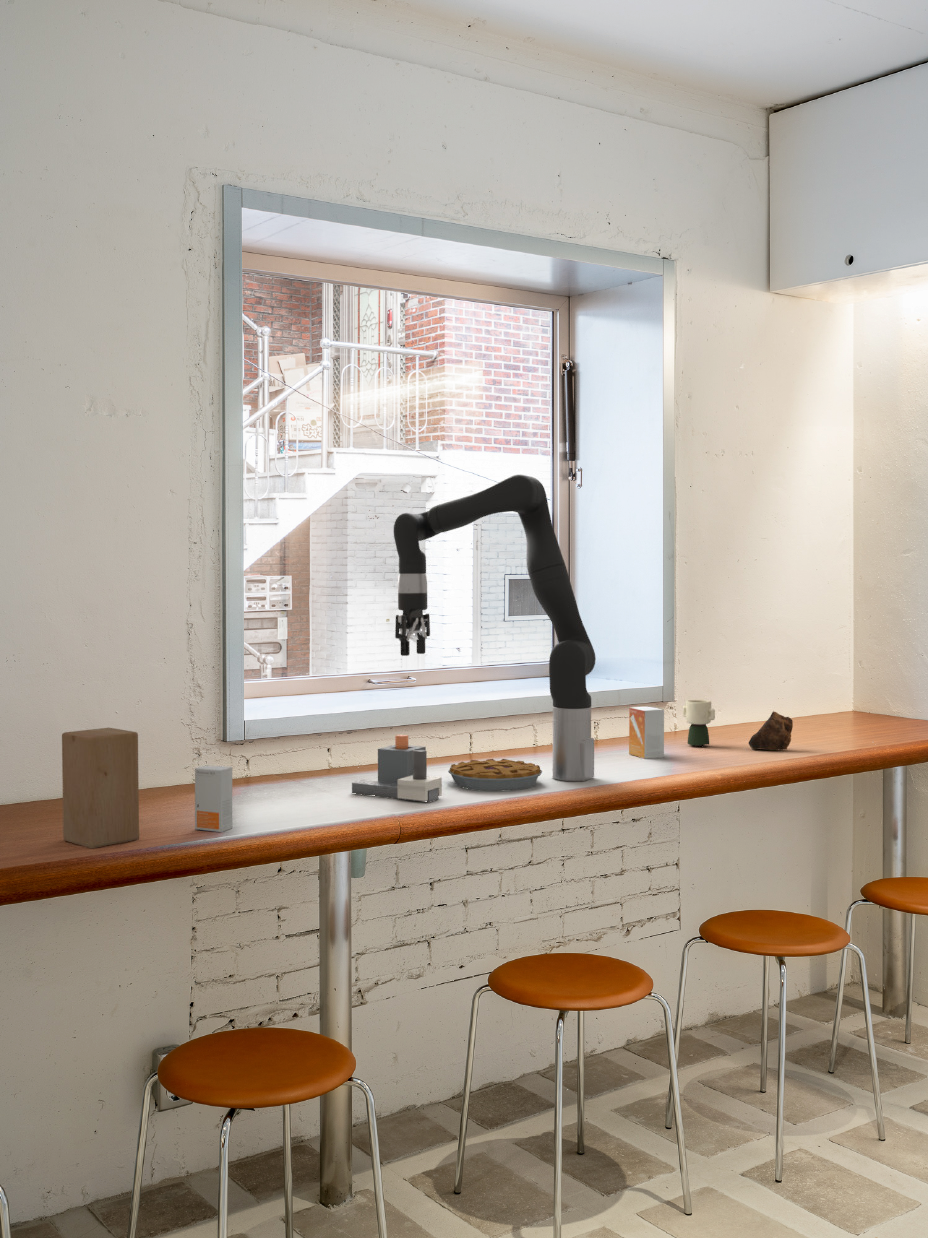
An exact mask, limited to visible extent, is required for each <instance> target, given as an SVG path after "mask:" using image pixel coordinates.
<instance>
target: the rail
mask: <svg viewBox="0 0 928 1238" xmlns="http://www.w3.org/2000/svg"><path fill="white" fill-rule="evenodd" d="M352 793H356V794H355V795H357V794H362V795H361V796H366V795H375V796H379V797H378V798H384V797H388V798H387V799H392V798H398V784H395V783H386V782H378V781H377V780H376V781H375V780H367V779H362V780H356V781H354V782H351V794H352ZM375 796H374V797H375ZM401 799H403V798H399V799H398V800H401ZM437 799H438V800H439V796H438V788H435V789H432V790H429V791H428V800H427V802H426V803H428V802H429V803H431V802H430V801H432V802H434V801H433V800H435V801H437ZM410 800H412V799H406V800H405V801H410ZM419 801H420V800H415V801H414V802H419Z"/></svg>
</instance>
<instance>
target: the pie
mask: <svg viewBox="0 0 928 1238" xmlns="http://www.w3.org/2000/svg"><path fill="white" fill-rule="evenodd" d="M447 772H448V774H450V775H451V778H452V779H453V782H454V784H455V785H457V786H458V787H459V786H460V788H463V787H464V788H463V789H466V788H468V789H467V790H471V789H473V791H478V790H483V791H482V792H503V791H502V790H510V791H518V790H524V789H525V790H526V789H529V788H533V787H535V786H536V784H537V780H538V778H539V776H541V774H542V773H543V770H542V769H541V766H540V765H538V764H537V765H536V764H535V763H532V762H528V763H527V762H525V761H524V760H517V761H515V760H512V759H506V758H502V759H501V760H495V759H494V758H489V759H486V760H478V759H477V760H476V759H471V760H469V761H467V762H465V761H461V762H458V763H457V764H455V763H454V764H451V765H450V767H449V770H448V771H447Z"/></svg>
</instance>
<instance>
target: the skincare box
mask: <svg viewBox="0 0 928 1238" xmlns="http://www.w3.org/2000/svg"><path fill="white" fill-rule="evenodd" d="M231 829H233V766H225V765H209V764H208V765H201V766H197V767H195V768H194V830H198V831H199V830H200V831H206V832H207V831H208V832H216V833H222V832H225V831H228V830H231Z"/></svg>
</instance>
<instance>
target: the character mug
mask: <svg viewBox="0 0 928 1238" xmlns="http://www.w3.org/2000/svg"><path fill="white" fill-rule="evenodd" d="M682 717H684V718H685V722H686V723H688V724H689V728H688V736H687V745H690V746H694V745H695V746H701V747H702V746H703V747H704V746H705V745H709V746H710V735H709V734H710V733H709V729H708V726H707V725H708V724H710V723H711V722H712V721H715V718H716V710H715V709H714V708H712V701H711V700H707V699H687V700H686V701H685V705H683V707H682Z"/></svg>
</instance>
